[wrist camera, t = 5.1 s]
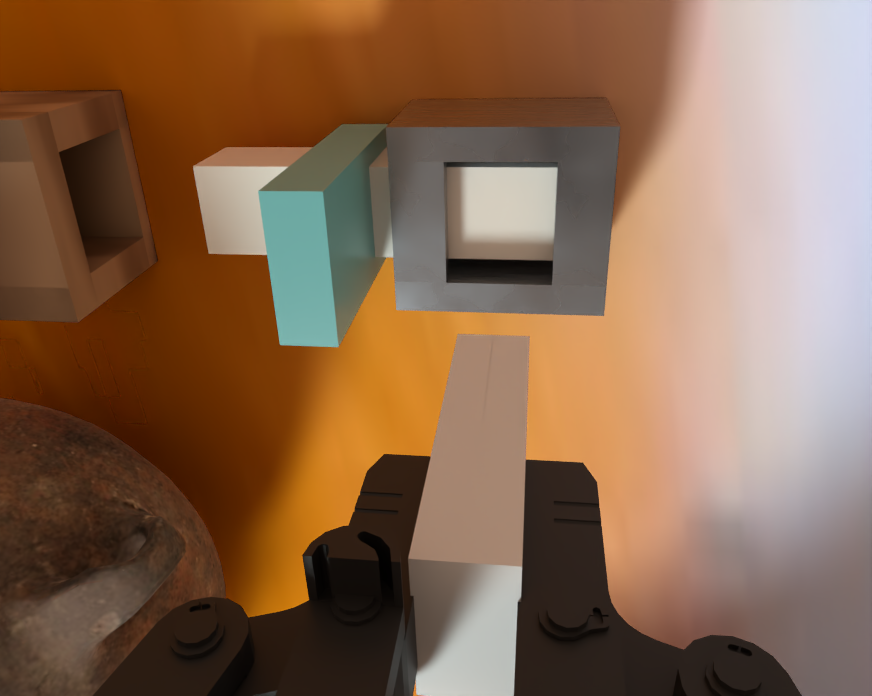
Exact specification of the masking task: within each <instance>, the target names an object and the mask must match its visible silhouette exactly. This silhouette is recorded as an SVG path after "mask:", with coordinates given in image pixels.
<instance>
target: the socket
mask: <svg viewBox="0 0 872 696" xmlns="http://www.w3.org/2000/svg"><path fill="white" fill-rule="evenodd" d="M157 261H158V260H157V255H156V250H155V246H154V241H153V237H152V232H151V227H150V223H149V218H148V213H147V209H146V204H145V200H144V195H143V190H142V186H141V181H140V176H139V172H138V167H137V163H136V158H135V153H134V149H133V144H132V139H131V135H130V130H129V126H128V121H127V116H126V112H125V107H124V102H123V98H122V93H121V90H88V91H0V320H20V321H51V322H79V321H81V320H82V319H83V318H85V317H86V316H87V315H89V314H90V313H91V312H92V311H94V310H95V309H96V308H98V307H99V306H100V305H101V304H103V303H104V302H105V301H107V300H108V299H109V298H111V297H112V296H113V295H114V294H116V293H117V292H118V291H120V290H121V289H122V288H124V287H125V286H126V285H127V284H129V283H130V282H131V281H133V280H134V279H135V278H137V277H138V276H139V275H140V274H142V273H143V272H144V271H146V270H147V269H148V268H149V267H151V266H152V265H153V264H155V263H156V262H157Z"/></svg>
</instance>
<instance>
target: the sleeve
mask: <svg viewBox="0 0 872 696" xmlns="http://www.w3.org/2000/svg"><path fill="white" fill-rule="evenodd" d="M619 135H620V125H619V123H618V121H617V119H616V117H615V115H614V113H613V111H612V108H611V106H610V104H609V102H608V100H607V98H536V99H417V100H412V101H411V102H410V103H409V104H408V105H407V106H406V107H405V108H404V109H403V110H402V111H401V112H400V113H399V114H398V115H397V116H396V117H395V118H394V119H393V120H392V121H391V123H390V124H389V125H388V126H387V127H386V138H387V156H388V173H389V190H390V208H391V225H392V242H393V259H394V277H395V294H396V310H417V311H452V312H488V313H523V314H558V315H593V316H604V309H605V297H606V285H607V274H608V262H609V251H610V239H611V228H612V216H613V205H614V193H615V181H616V170H617V158H618V147H619ZM447 162H557V179H556V200H555V220H554V241H553V260H504V259H452V258H449V255H448V207H447Z"/></svg>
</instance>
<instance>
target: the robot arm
mask: <svg viewBox="0 0 872 696" xmlns="http://www.w3.org/2000/svg"><path fill="white" fill-rule="evenodd" d="M529 337H530V336H505V335H474V334H458V336H457V340H456V345H455V350H454V354H453V359H452V363H451V368H450V372H449V377H448V381H447V386H446V390H445V395H444V399H443V404H442V408H441V413H440V417H439V422H438V426H437V431H436V435H435V440H434V444H433V449H432V453H431V457H430V456H411V455H392V454H384V455H383V456H382V457H381V458H380V459H379V460H378V461H377V462H376V463H375V464H374V465H373V466H372V467H371V468H370V469H369V470H368V471H367V473H366V476H365V479H364V482H363V485H362V488H361V491H360V495H359V497H358V500H357V503H356V506H355V512H353V515H352V517H351V520H350V523H349V526H342V527H339V528H336V529H333V530H330V531H328V532H325V533H324V534H322V535H321V536H320V537H318V538H317V539H315V540H314V541H313V542H311V544H310V545H309V547H308V548H307V550H306V551H305V552H304V554H303V555H302V556H303V562H304V569H305V575H306V582H307V588H308V595H309V601H307V602H305V603H303V604H301V605H299V606H297V607H295V608H291V609H288V610H284V611H281V612H276V613H270V614H265V615H260V616H255V617H249V618H248V617H247V615H246V613H245V612H244V610H243V608H242V607H241V606H240V605H238V604H237V603H235V602H233V601H231V600H229V599H227V598H218V597H206V598H201V599H195V600H191V601H189V602H187V603H184V604H182V605H180V606H178V607H176V608H174V609H172V610H171V611H170V612H169V613H168V614H166V615H165V616H164V617H163V618H162V619H161V620H159V621H158V622H157V623H156V624H155V626H154V627H153V628H152V629H151V630H150V631H149V632H148V633H147V635H146V636H145V637H144V638H143V639H142V640H141V641H140V642H139V644H138V645H137V646H136V647H135V648H134V649H133V650H132V652H131V653H130V654H129V655H128V656H127V657H126V658H125V659H124V661H123V662H122V663H121V664H120V665H119V666H118V667H117V668H116V670H115V671H114V672H113V673H112V674H111V675H110V676H109V678H108V679H107V680H106V681H105V682H104V683H103V684H102V685H101V687H100V688H99V689H98V690H97V691H96V692H95V693H94V694H93V696H413V691H414V685H415V680H416V692H417V695H424V696H802V695H801V694H800V692H799V691H798V689H797V687H796V686H795V684H794V683H793V681H792V679H791V678H790V676H789V675H788V673H787V672H786V671H785V670H784V669H783V667H782V666H781V665H780V664H779V663H778V662H777V660H776V659H775V658H774V657H773V656H772V655H770V654H769V653H767V652H765V651H764V650H762V649H761V648H759V647H758V646H756V645H755V644H753V643H750V642H747V641H744V640H742V639H739V638H736V637H733V636H717V635H710V636H707V637H704V638H701V639H697V640H694V641H693V642H692V643H691V644H690V645H689V646H688V647H687V648H686V649H684V650H682V649H679V648H677V647H674V646H671V645H668V644H665V643H663V642H660V641H657V640H655V639H652V638H650V637H648V636H646V635H644V634H641V633H640V632H639V631H637V630H636V629H634V628H633V627H631V626H630V625H629V624H627V623H626V621H625V620H624V619H623V618H622V617H621V616H620V615H619V614H618V613H617V611H616V609H615V608H614V606H613V604H612V603H611V599H610V595H609V592H608V583H607V573H606V564H605V554H604V545H603V535H602V526H601V516H600V508H599V497H598V488H597V482H596V480H595V479H594V477H593V476H592V475H591V473H590V472H589V471H588V469H587V468H586V466H585V465H584V464H583V463H578V462H560V461H541V460H526V432H527V400H528V368H529Z"/></svg>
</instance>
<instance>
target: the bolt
mask: <svg viewBox="0 0 872 696" xmlns="http://www.w3.org/2000/svg"><path fill="white" fill-rule="evenodd" d="M387 126H388V124H342V125H340V126H339V127H338V128H337V129H335V130H334V131H333V132H332V133H330V134H329V135H328V136H327V137H325V138H324V139H323V140H322V141H320V142H319V143H318V144H317V145H315V146H314V147H226V148H224V149H222V150H220V151H219V152H217V153H215V154H213V155H212V156H210V157H208V158H206V159H205V160H203V161H201V162H200V163H198V164H196V165H194V166H193V170H194V176H195V181H196V187H197V192H198V198H199V203H200V209H201V214H202V220H203V225H204V231H205V236H206V242H207V247H208V253H209V254H244V255H267V258H268V265H269V272H270V279H271V286H272V293H273V300H274V307H275V314H276V321H277V328H278V335H279V342H280V345H291V346H319V347H339V345H340V343H341V342H342V340H343V338H344V336H345V334H346V332H347V330H348V328H349V327H350V325H351V323H352V321H353V319H354V317H355V315H356V313H357V312H358V310H359V308H360V306H361V304H362V302H363V300H364V298H365V296H366V295H367V293H368V291H369V289H370V287H371V285H372V283H373V281H374V280H375V278H376V276H377V274H378V272H379V270H380V268H381V266H382V265H383V263H384V261H385V259H386V257H393V242H392V225H391V208H390V190H389V173H388V156H387V138H386V127H387ZM556 179H557V162H447V207H448V255H449V258H452V259H504V260H553V241H554V220H555V200H556Z"/></svg>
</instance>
